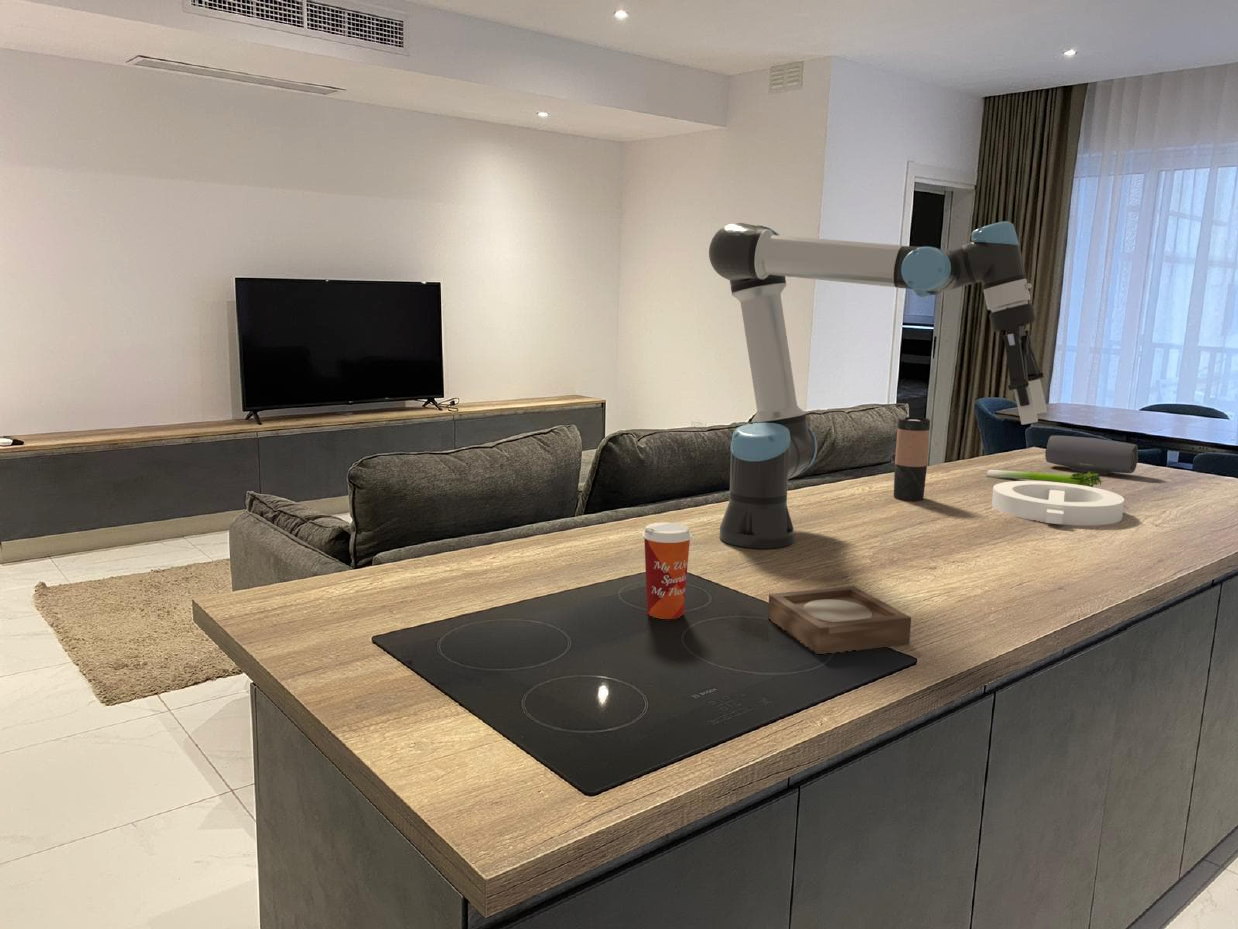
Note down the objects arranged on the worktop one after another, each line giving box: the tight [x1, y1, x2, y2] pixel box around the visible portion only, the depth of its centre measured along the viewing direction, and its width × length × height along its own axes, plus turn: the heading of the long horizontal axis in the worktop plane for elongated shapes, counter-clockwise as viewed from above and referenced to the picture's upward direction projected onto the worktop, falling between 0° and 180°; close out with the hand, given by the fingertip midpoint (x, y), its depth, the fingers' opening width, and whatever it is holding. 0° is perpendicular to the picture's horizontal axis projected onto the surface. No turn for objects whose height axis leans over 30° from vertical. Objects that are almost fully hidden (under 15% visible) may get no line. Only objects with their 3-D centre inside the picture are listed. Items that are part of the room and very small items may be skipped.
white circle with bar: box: [991, 480, 1125, 526], centre depth 214 cm, size 28×28×5 cm
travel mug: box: [893, 416, 931, 502], centre depth 224 cm, size 8×8×20 cm
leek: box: [985, 469, 1104, 487], centre depth 244 cm, size 6×7×30 cm
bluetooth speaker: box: [1044, 435, 1139, 475], centre depth 263 cm, size 23×9×10 cm, turn 46°
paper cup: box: [641, 522, 693, 619], centre depth 140 cm, size 8×8×14 cm
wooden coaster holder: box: [767, 585, 912, 655], centre depth 135 cm, size 15×15×4 cm
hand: (1034, 418), depth 168 cm, fingers open, 13 cm apart
